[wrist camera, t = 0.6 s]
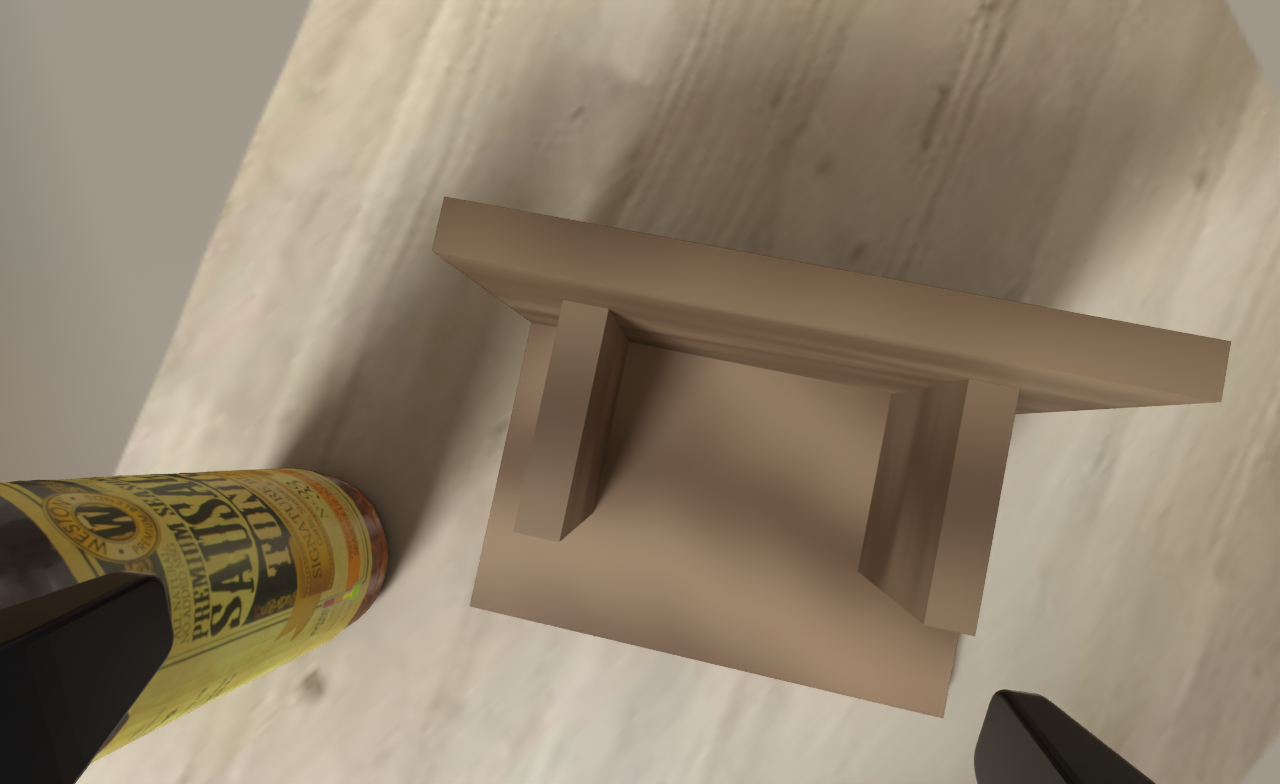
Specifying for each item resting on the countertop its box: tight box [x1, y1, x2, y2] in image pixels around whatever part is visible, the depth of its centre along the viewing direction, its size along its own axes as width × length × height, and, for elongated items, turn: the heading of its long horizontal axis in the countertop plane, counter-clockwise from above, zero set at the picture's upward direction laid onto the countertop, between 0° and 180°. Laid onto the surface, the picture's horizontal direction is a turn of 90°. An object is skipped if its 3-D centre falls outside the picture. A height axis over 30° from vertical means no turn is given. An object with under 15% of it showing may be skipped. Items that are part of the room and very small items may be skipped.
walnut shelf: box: [432, 197, 1231, 718], centre depth 18 cm, size 11×16×10 cm
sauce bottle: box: [0, 468, 388, 763], centre depth 14 cm, size 6×6×20 cm
